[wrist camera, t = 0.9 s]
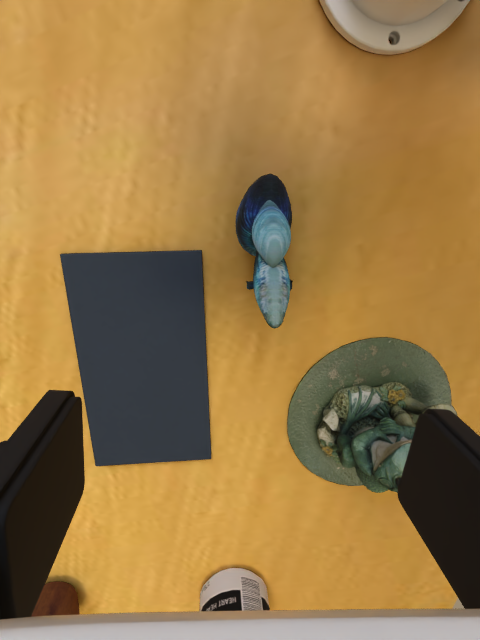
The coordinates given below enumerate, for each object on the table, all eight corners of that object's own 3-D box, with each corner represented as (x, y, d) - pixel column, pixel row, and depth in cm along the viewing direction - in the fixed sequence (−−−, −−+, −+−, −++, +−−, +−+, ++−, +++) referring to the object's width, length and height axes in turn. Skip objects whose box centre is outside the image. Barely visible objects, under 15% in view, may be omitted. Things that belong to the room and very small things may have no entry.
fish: (234, 293, 35) (243, 331, 25) (232, 176, 31) (242, 169, 22) (280, 292, 35) (307, 329, 26) (284, 175, 32) (315, 169, 22)
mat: (61, 253, 32) (59, 254, 32) (201, 250, 33) (201, 250, 33) (96, 463, 39) (95, 466, 39) (211, 456, 40) (211, 459, 40)
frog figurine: (464, 334, 38) (568, 392, 27) (435, 479, 44) (511, 575, 33) (290, 340, 37) (324, 404, 26) (284, 488, 42) (310, 591, 31)
